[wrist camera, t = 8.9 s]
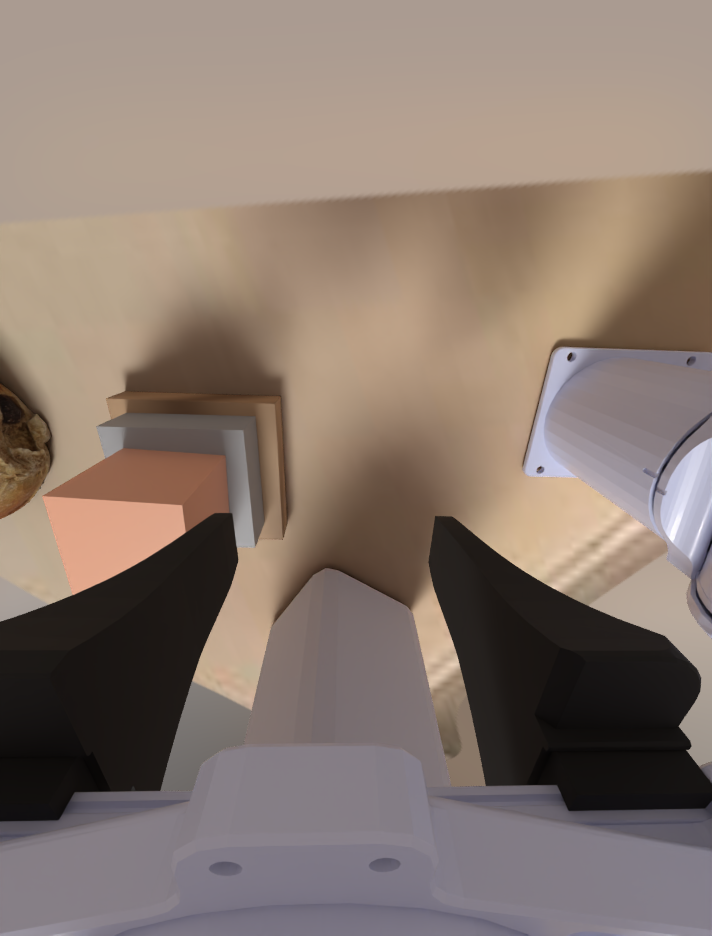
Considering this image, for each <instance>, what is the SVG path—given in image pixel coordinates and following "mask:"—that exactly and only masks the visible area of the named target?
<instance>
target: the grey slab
mask: <svg viewBox="0 0 712 936" xmlns="http://www.w3.org/2000/svg"><path fill="white" fill-rule="evenodd" d="M96 427H97V430H98V434H99V437H100V441H101V445H102V448H103V452H104V455H105V459H106V458H107V457H109V456H111V455H112V454H114V453H116V452H117V451H119V450H121V449H122V448H128V449H142V450H156V451H170V452H184V453H198V454H212V455H225V456H226V469H227V484H228V499H229V513H232V514H233V522H234V530H235V537H236V545H237V547H252V548H255V546H256V544H257V541H258V539H259V536H260V534H261V531H262V528H263V526H264V512H263V500H262V488H261V476H260V464H259V452H258V440H257V429H256V417H255V416H228V415H191V414H154V413H125V414H122V415H120V416H118V417H116V418H114V419H112V420H109V421H107V422H105V423H103V424H101V425H99V426H96Z"/></svg>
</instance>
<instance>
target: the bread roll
mask: <svg viewBox="0 0 712 936" xmlns="http://www.w3.org/2000/svg"><path fill="white" fill-rule="evenodd" d="M50 437H51V435H50V431H49V429H48V427H47V424H46V423H45V422H44V421H43V420H42V419H41V418H40V417H39V416H38V415H37V414H34V413H32V412H31V411H30V410H29V409H28V408H27V407H26V406H25V405H24V403H23V402H22V401H21V400H20V399H19V398H18V397H17V396H16V395H15V394H14V393H12V392H11V391H10V390H9V389H7V388H6V387H5V386H3V385H2V384H1V383H0V519H2V518H4V517H6V516H8V515H10V514H12V513H14V512H15V511H17V510H19V509H20V508H22V507H23V506H25V505H26V503H28V502H30V500H31V499H32V498H33V497H34V496H35V494H36V493H37V491H38V490H39V489H41V484H42V482H43V480H44V479H45V477H46V475H47V473H48V470H49V466H50V454H49V451H48V449H47V446H46V442H47V441H49V439H50Z"/></svg>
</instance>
